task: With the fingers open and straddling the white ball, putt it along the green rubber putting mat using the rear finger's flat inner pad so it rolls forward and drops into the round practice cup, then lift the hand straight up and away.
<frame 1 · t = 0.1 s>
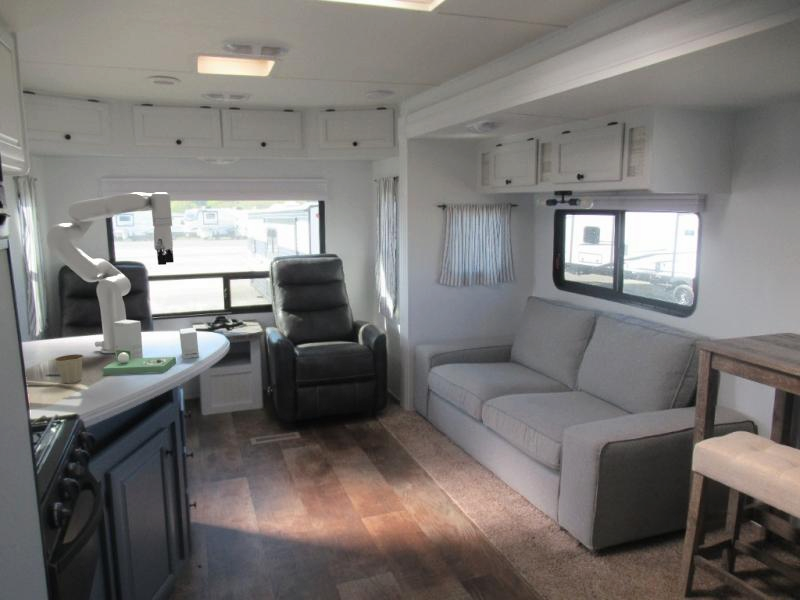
hand: (166, 263, 259), 37 cm above the counter, tool pointing down, fingers open, 9 cm apart
skincare box 2: (190, 355, 252), on the counter
flower pot: (71, 381, 218), on the counter
ball: (123, 357, 232), point 4 cm above the counter, touching putting mat
skincare box: (130, 359, 248), on the counter
putting mat: (140, 368, 232), on the counter
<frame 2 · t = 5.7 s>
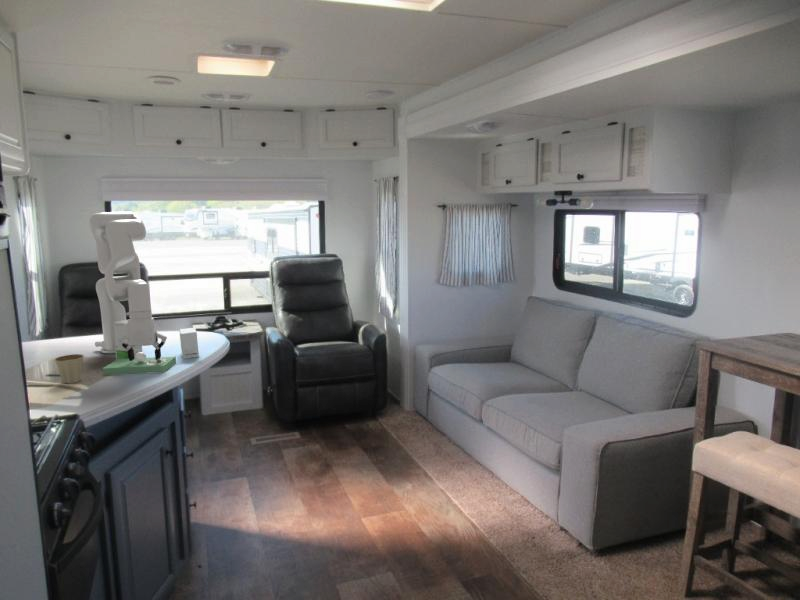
hand: (144, 359, 232), 3 cm above the counter, tool pointing down, fingers open, 9 cm apart
ball: (140, 357, 232), point 4 cm above the counter, tilted 179°, touching putting mat
everything else where it was.
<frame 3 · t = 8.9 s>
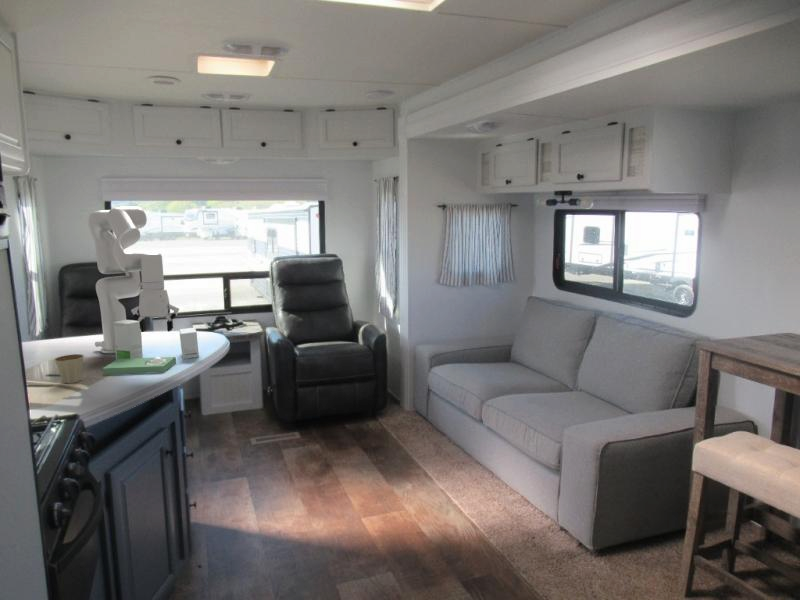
hand: (156, 330, 231), 14 cm above the counter, tool pointing down, fingers open, 9 cm apart
ball: (157, 362, 233), point 2 cm above the counter, tilted 24°
everything else where it was.
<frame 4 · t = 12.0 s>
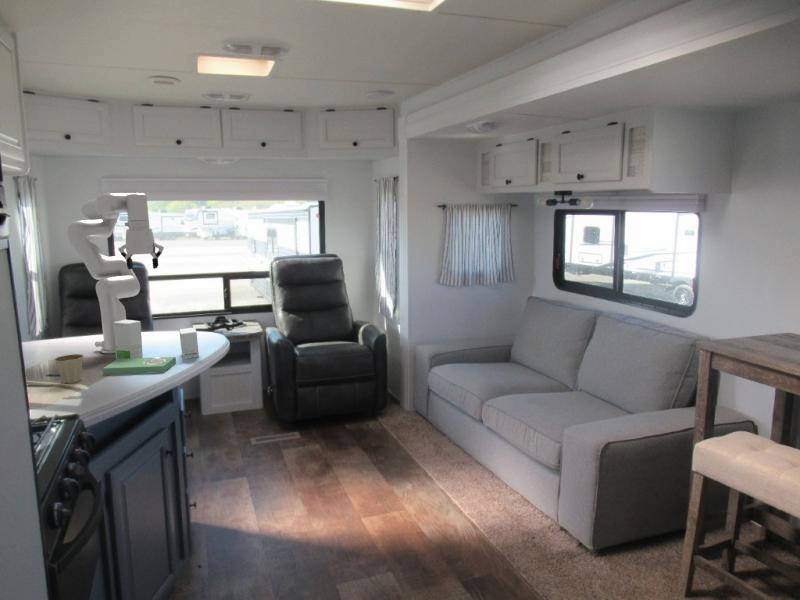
hand: (143, 268, 244), 36 cm above the counter, tool pointing down, fingers open, 9 cm apart
at the end: ball 0.6 cm from the target spot in the putting mat, point 2.0 cm above the putting mat's base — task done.
